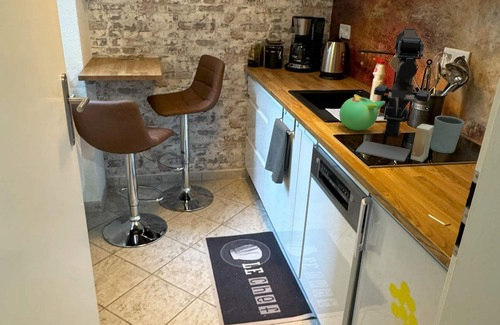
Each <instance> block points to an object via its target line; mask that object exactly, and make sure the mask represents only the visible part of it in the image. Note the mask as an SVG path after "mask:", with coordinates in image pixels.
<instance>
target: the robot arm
mask: <svg viewBox="0 0 500 325" xmlns="http://www.w3.org/2000/svg"><path fill="white" fill-rule="evenodd" d="M424 46H425V44H424V41H423V40H422V37H419V35H418V34H417V29H416V28H409V27H408V28H407V27H406V28H403V29H402V30H401V32H400V33H399V34H397V35H396V37H395V42H394V50H395V52H394V54H395V57H396V59H397V67H396V72H395V78H394V80H395V81H394V83H393V85H392V87H391V88H389V85H385V84H378V85H377V86H376V87H374V90H373V95H375V96H376V95H377V96H382V97H383V96H384V95H385V94H387V99H388V103H387V105H385V109H384V114H383V121H386V122H385V129H384V130H383V132H382V133H381V134H382V135H386V136H391V137H399V136H400V135H401V133H402V132H401V131H400V128H401V124H402V123H405V122H407V119H408V115H409V110H408V107H407V105H408V104H409V103H412V102H413V101H414V100H415V99H416V101H418V102H419V101H420V102H425V103H427V102H428V101H429V100H430V97H431V92H430V90H422V89H419V90H418V91H417V92H416V91H414V89H415V88H414V85H413V80H414V77H415V76H416V74H417V72H418V66H417V61H416V60H421V59H422V57H423V56H424V50H425V48H424Z"/></svg>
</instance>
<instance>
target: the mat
mask: <svg viewBox="0 0 500 325" xmlns="http://www.w3.org/2000/svg"><path fill="white" fill-rule="evenodd" d="M355 152H356V153H360V154H365V155H371V156H375V157H380V158H385V159H389V160H393V161H394V160H395V161H399V162H405V161H406V159H407V157H408V156H409V154H410V152H412V150H411V149H410V148H404V147H399V146H395V145H389V144H383V143H379V142H374V141H373V142H372V141H368V140H364V141H363V142H362V143H361V144H360V146H358V148H356V150H355Z"/></svg>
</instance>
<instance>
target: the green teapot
mask: <svg viewBox="0 0 500 325" xmlns="http://www.w3.org/2000/svg"><path fill="white" fill-rule="evenodd" d="M385 104H386V101H385V100H381V101H377V102H374V101H373V100H371V99H369V98H367V97H364V96H360V95H358V94H354V95H353V97H350V98H349V99H347V100H345V101H344V103H343V104H342V105H341V107H340V109H339V115H338V116H339V120H340V122H341V123H342V125H343V126H344V127H346V128H347V129H349V130H353V131H357V132H358V131H359V132H360V131H365V130H367V129H369V128H371V127H372V126H373V125H374V124H375V123H376V121H377V119H378V115H379V109H381V108H382V107H383V106H384V105H385Z"/></svg>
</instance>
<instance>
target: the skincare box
mask: <svg viewBox="0 0 500 325" xmlns="http://www.w3.org/2000/svg"><path fill="white" fill-rule="evenodd" d="M433 128H434V125H432V124H431V125H430V124H427V123H426V124H425V123H421V124H419V125H418V126H416V129H415V134H414V139H413V145H412V150H411V154H410V160H412V161H416V162H417V161H418V162H421V163H423V162H424V161H425V160H426V159H427V158H428V156H429V152H430V151H429V150H430V148H431V140H432V135H433Z"/></svg>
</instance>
